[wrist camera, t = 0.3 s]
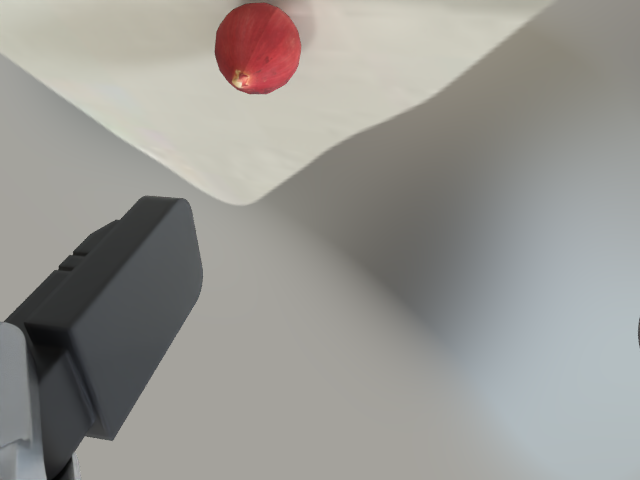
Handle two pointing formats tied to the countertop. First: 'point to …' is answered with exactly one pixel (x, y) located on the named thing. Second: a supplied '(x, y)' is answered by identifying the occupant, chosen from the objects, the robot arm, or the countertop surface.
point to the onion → (257, 48)
